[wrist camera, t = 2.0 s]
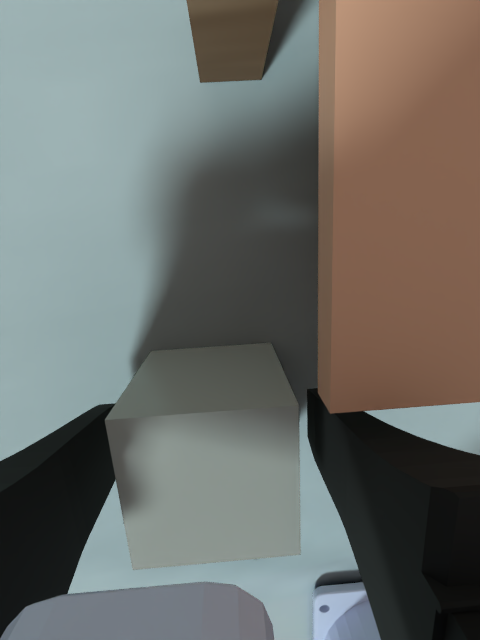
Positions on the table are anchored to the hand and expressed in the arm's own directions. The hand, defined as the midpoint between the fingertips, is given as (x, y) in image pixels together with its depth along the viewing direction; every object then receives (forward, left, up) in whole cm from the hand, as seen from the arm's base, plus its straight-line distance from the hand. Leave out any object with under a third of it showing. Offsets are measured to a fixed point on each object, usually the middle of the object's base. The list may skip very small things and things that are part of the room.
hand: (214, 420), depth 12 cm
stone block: (0, 0, -2) cm, 2 cm away
